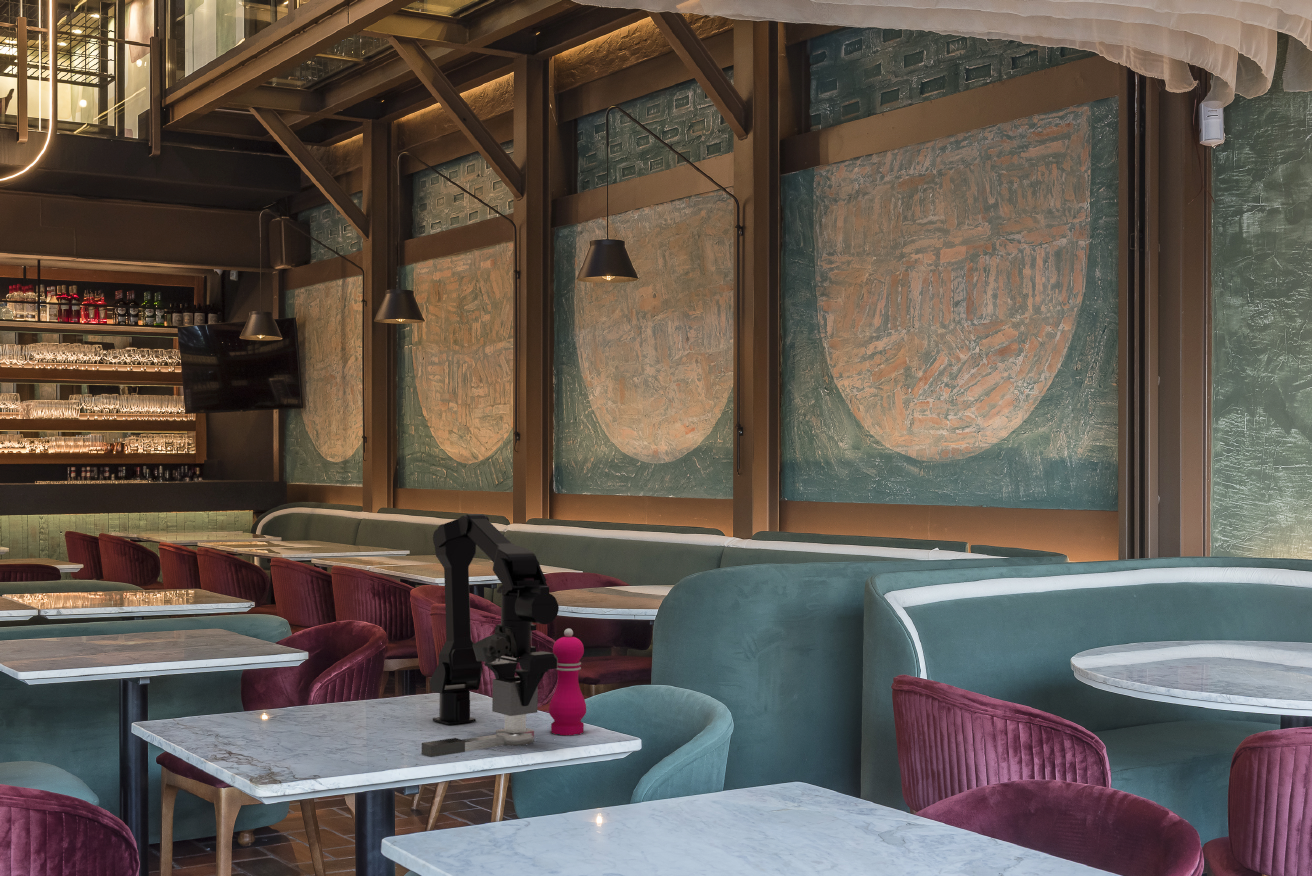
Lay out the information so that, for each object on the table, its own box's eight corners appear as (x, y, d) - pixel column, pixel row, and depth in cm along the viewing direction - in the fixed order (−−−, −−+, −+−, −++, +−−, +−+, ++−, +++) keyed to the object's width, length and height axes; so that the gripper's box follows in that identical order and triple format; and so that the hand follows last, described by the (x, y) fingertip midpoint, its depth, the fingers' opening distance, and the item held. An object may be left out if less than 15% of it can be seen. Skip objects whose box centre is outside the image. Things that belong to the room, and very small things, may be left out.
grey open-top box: (492, 711, 237) (492, 679, 237) (518, 707, 241) (519, 676, 241) (510, 716, 232) (511, 683, 233) (537, 712, 236) (537, 679, 237)
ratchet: (415, 752, 227) (416, 723, 227) (519, 736, 241) (520, 709, 242) (436, 759, 221) (437, 728, 222) (541, 742, 236) (541, 714, 236)
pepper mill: (588, 729, 249) (589, 626, 250) (583, 736, 242) (584, 630, 243) (552, 728, 250) (553, 626, 251) (545, 735, 243) (546, 630, 243)
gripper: (452, 617, 239) (451, 701, 239) (509, 626, 225) (508, 715, 225) (501, 614, 246) (500, 695, 246) (559, 622, 232) (558, 708, 232)
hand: (515, 703), depth 237 cm, fingers closed on grey open-top box, 6 cm apart
